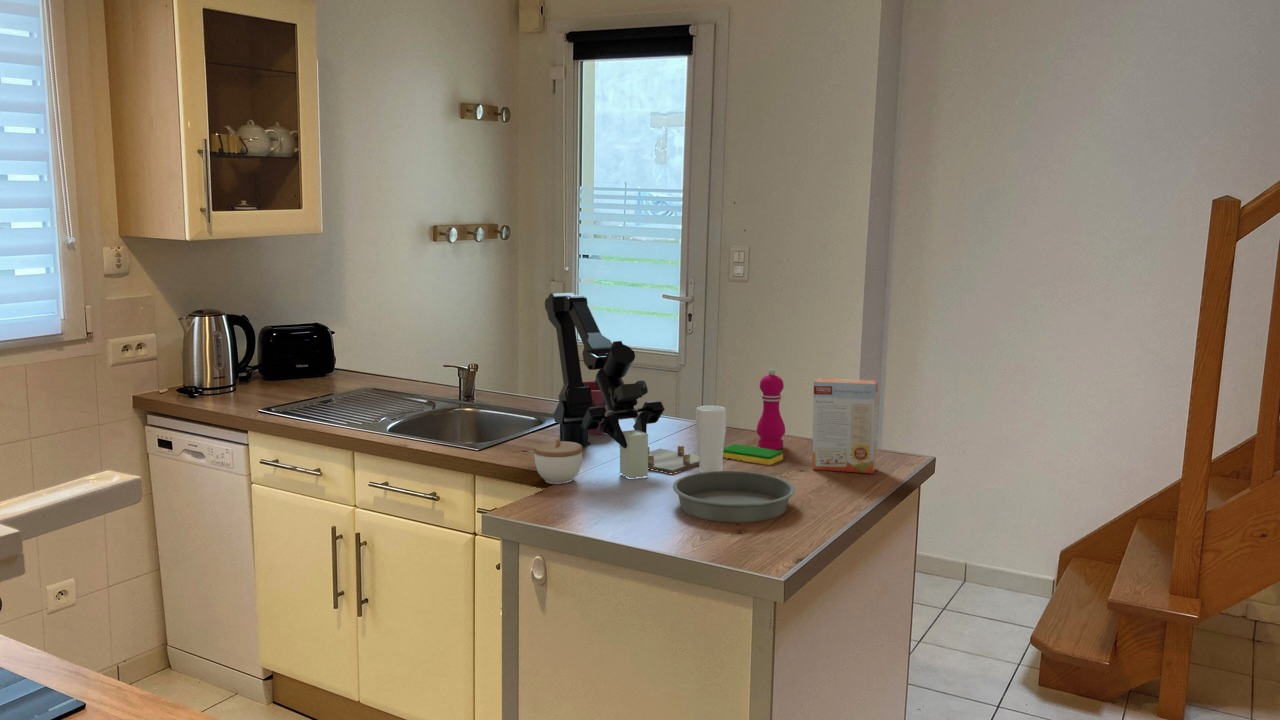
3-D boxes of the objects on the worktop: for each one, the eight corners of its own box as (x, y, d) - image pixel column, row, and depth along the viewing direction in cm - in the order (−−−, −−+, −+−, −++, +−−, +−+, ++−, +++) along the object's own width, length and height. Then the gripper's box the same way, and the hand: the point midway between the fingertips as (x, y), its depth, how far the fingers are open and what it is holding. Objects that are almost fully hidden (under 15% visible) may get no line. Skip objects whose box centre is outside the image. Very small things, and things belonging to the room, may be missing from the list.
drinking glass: (705, 477, 224) (706, 412, 222) (690, 470, 230) (690, 406, 228) (731, 474, 227) (731, 409, 225) (715, 467, 233) (716, 404, 231)
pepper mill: (784, 450, 249) (785, 371, 246) (755, 449, 250) (756, 370, 247) (785, 444, 256) (787, 367, 253) (757, 443, 257) (758, 366, 254)
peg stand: (621, 464, 236) (621, 452, 235) (659, 452, 247) (659, 440, 247) (672, 474, 227) (672, 461, 226) (710, 461, 238) (710, 449, 238)
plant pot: (608, 438, 263) (608, 391, 261) (559, 435, 267) (559, 388, 266) (627, 428, 276) (627, 382, 274) (581, 424, 281) (580, 379, 279)
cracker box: (876, 468, 231) (879, 379, 228) (873, 474, 226) (876, 383, 223) (815, 463, 236) (817, 376, 233) (811, 469, 230) (813, 380, 227)
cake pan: (707, 532, 186) (707, 509, 185) (653, 498, 208) (652, 477, 208) (818, 516, 196) (819, 494, 195) (755, 485, 218) (755, 465, 217)
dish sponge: (733, 453, 249) (733, 443, 248) (783, 460, 241) (783, 450, 240) (718, 458, 243) (718, 449, 242) (769, 466, 235) (769, 456, 235)
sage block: (620, 474, 226) (619, 431, 225) (637, 472, 229) (637, 429, 227) (630, 479, 222) (629, 435, 221) (647, 477, 224) (647, 433, 223)
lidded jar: (580, 473, 228) (579, 433, 227) (585, 485, 218) (585, 443, 216) (532, 475, 226) (532, 435, 225) (536, 488, 216) (535, 445, 214)
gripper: (586, 372, 221) (609, 430, 213) (660, 366, 230) (684, 421, 222) (573, 401, 230) (593, 458, 221) (644, 394, 238) (667, 449, 230)
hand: (635, 446), depth 224 cm, fingers closed on sage block, 4 cm apart
